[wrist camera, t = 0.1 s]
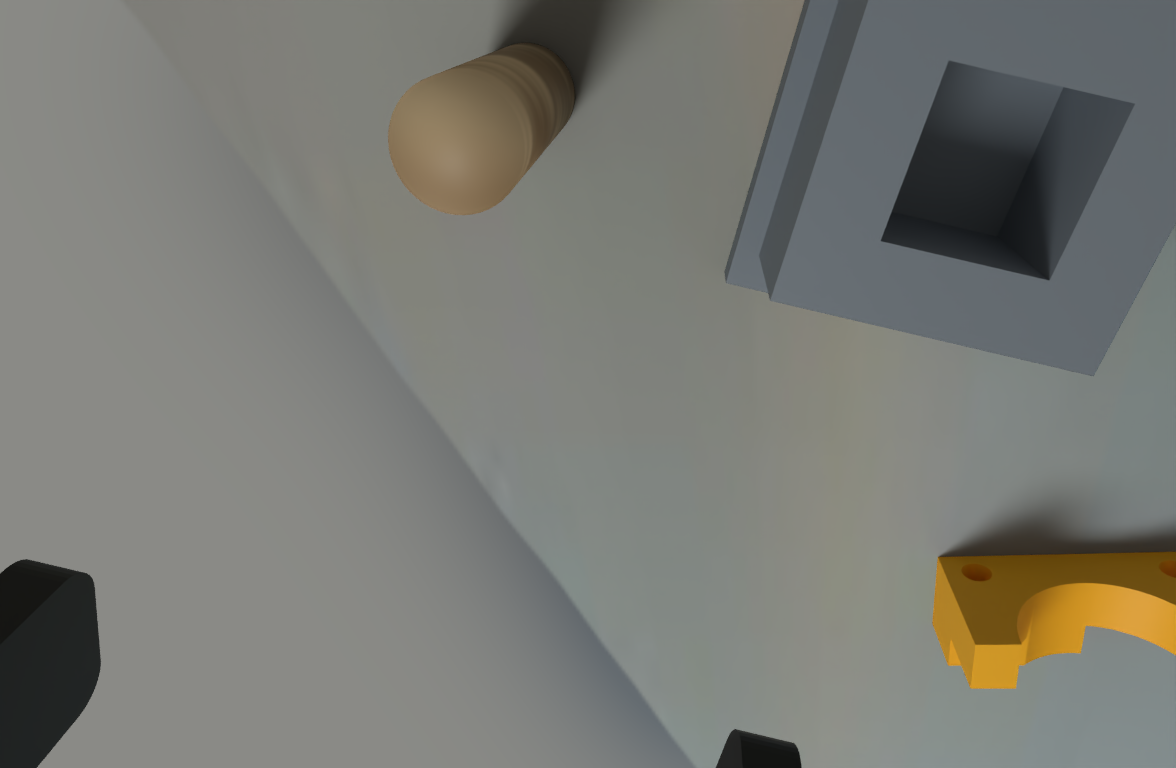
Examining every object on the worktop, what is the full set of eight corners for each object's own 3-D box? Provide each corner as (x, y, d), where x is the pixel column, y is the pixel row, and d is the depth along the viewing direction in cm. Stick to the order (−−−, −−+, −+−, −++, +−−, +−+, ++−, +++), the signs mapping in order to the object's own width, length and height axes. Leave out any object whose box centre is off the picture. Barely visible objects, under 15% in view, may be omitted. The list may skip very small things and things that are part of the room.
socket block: (837, -110, 31) (875, -133, 24) (1212, -24, 31) (1346, -24, 24) (724, 272, 37) (731, 331, 31) (1031, 343, 37) (1100, 418, 31)
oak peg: (487, 32, 34) (395, 59, 23) (583, 55, 34) (535, 91, 23) (473, 131, 36) (382, 197, 25) (564, 152, 36) (511, 228, 25)
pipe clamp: (931, 621, 45) (967, 716, 39) (936, 554, 43) (975, 644, 37) (1176, 618, 43) (1252, 718, 37) (1193, 549, 41) (1275, 642, 35)
